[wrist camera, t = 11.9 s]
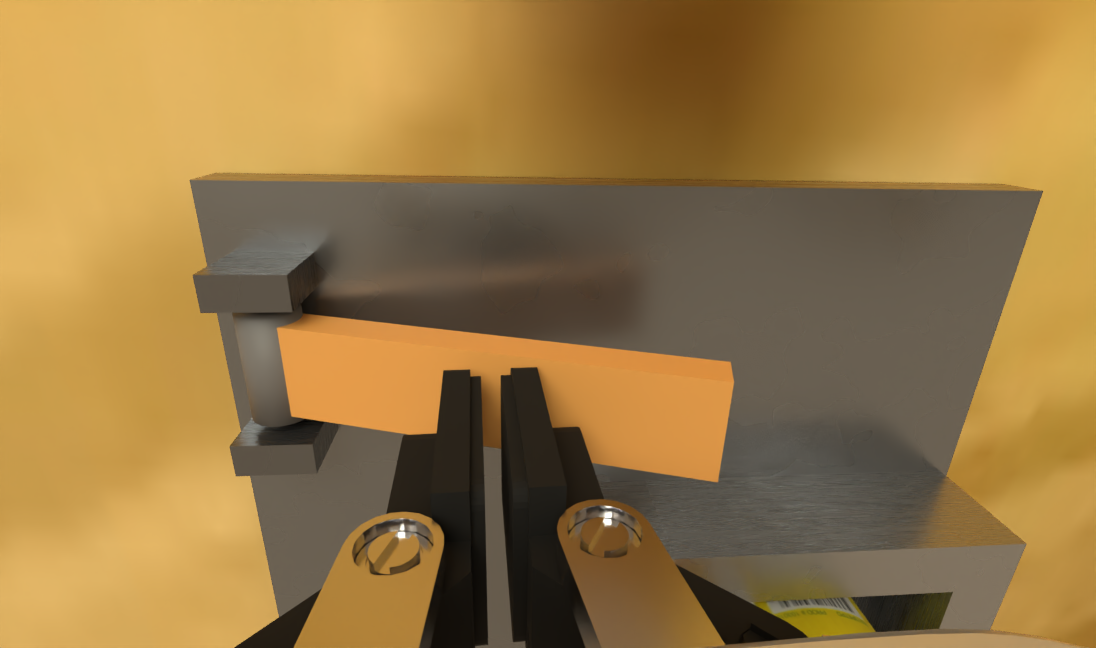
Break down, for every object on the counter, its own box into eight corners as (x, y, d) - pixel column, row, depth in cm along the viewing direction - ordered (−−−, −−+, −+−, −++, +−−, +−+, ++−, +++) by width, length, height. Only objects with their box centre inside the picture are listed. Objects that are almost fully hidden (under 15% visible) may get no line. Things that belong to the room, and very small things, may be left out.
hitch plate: (1002, 184, 15) (1178, 214, 11) (846, 682, 22) (921, 807, 18) (215, 173, 13) (99, 203, 9) (317, 716, 20) (274, 862, 16)
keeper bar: (731, 347, 11) (736, 378, 10) (713, 457, 12) (717, 499, 11) (261, 296, 13) (217, 317, 12) (278, 393, 14) (238, 421, 13)
